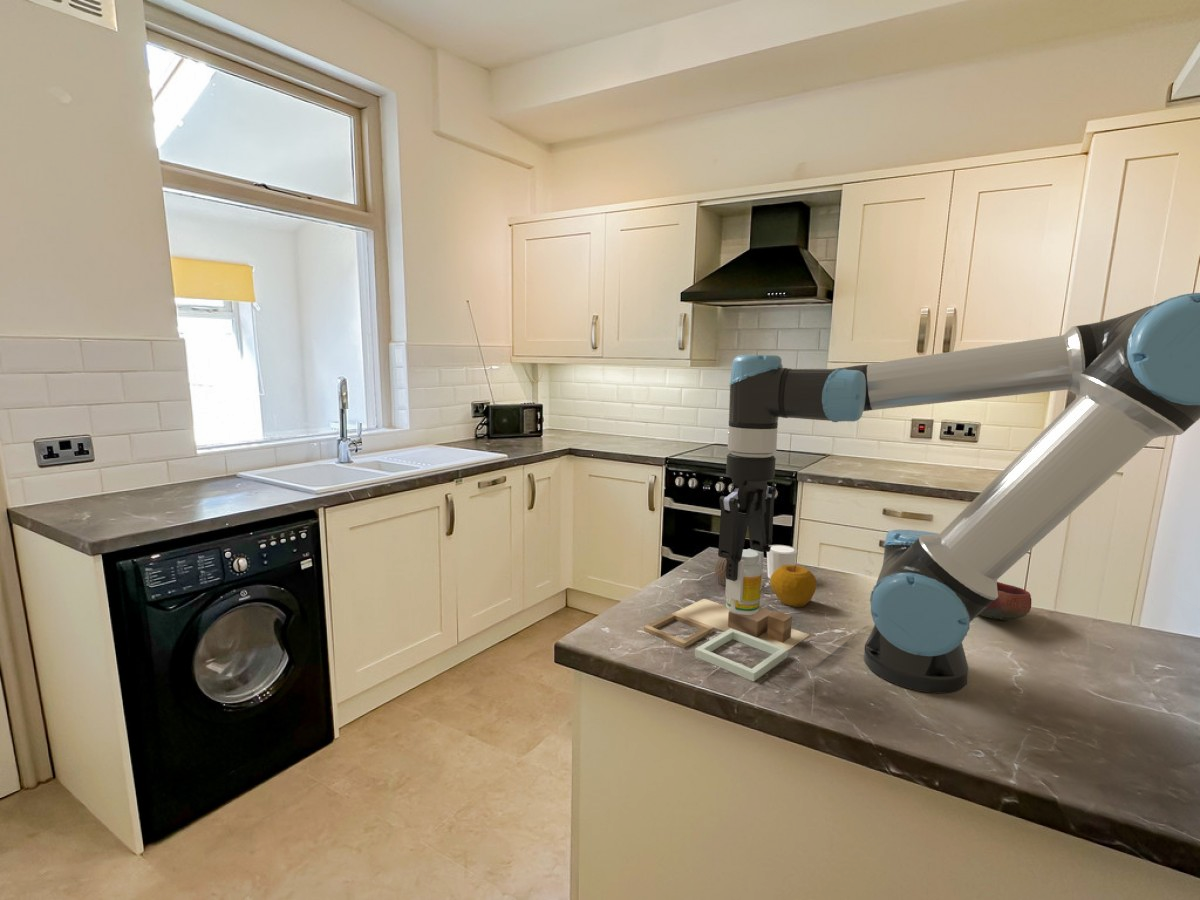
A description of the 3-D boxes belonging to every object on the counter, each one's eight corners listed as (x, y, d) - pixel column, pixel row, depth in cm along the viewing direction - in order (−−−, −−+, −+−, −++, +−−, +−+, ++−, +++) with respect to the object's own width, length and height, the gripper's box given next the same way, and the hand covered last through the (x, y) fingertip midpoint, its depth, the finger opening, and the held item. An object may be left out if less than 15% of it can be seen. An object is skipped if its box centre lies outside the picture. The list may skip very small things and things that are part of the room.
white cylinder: (775, 570, 143) (777, 542, 142) (801, 578, 138) (803, 549, 137) (759, 576, 139) (760, 547, 138) (784, 585, 134) (786, 555, 133)
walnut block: (773, 627, 109) (774, 611, 109) (756, 637, 105) (757, 621, 105) (744, 617, 114) (745, 602, 113) (727, 626, 109) (728, 611, 109)
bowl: (945, 600, 126) (948, 564, 125) (1013, 608, 123) (1018, 571, 121) (971, 633, 110) (975, 593, 109) (1050, 642, 107) (1055, 601, 106)
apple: (760, 605, 122) (762, 564, 121) (783, 594, 128) (785, 555, 127) (800, 620, 115) (803, 576, 114) (823, 607, 121) (825, 565, 120)
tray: (787, 663, 99) (788, 649, 98) (753, 688, 91) (754, 673, 90) (730, 641, 106) (730, 628, 106) (694, 662, 98) (695, 648, 98)
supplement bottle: (719, 607, 98) (721, 551, 96) (739, 599, 101) (742, 545, 100) (746, 618, 93) (749, 560, 92) (766, 610, 97) (769, 553, 95)
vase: (726, 579, 137) (728, 542, 136) (751, 588, 132) (753, 550, 130) (707, 586, 133) (708, 548, 131) (731, 595, 127) (733, 556, 126)
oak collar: (713, 637, 108) (713, 627, 107) (683, 654, 101) (683, 643, 101) (673, 622, 114) (674, 612, 114) (643, 637, 107) (643, 626, 107)
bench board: (809, 641, 107) (811, 613, 106) (783, 660, 100) (784, 631, 99) (703, 603, 123) (704, 580, 122) (674, 618, 116) (675, 592, 115)
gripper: (759, 445, 102) (752, 573, 106) (697, 456, 89) (691, 601, 93) (800, 450, 97) (791, 584, 101) (741, 462, 84) (733, 616, 88)
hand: (743, 592), depth 97 cm, fingers closed on supplement bottle, 5 cm apart
